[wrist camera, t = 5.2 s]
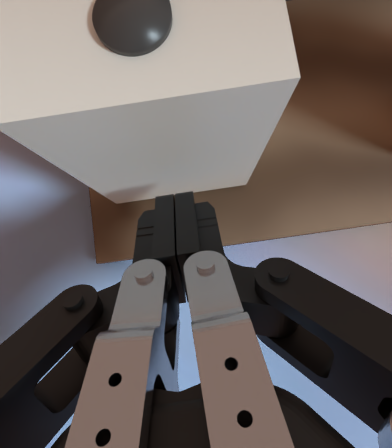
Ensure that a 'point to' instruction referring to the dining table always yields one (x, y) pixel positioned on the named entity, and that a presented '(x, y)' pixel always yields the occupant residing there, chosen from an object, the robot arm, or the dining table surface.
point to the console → (304, 141)
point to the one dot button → (146, 89)
